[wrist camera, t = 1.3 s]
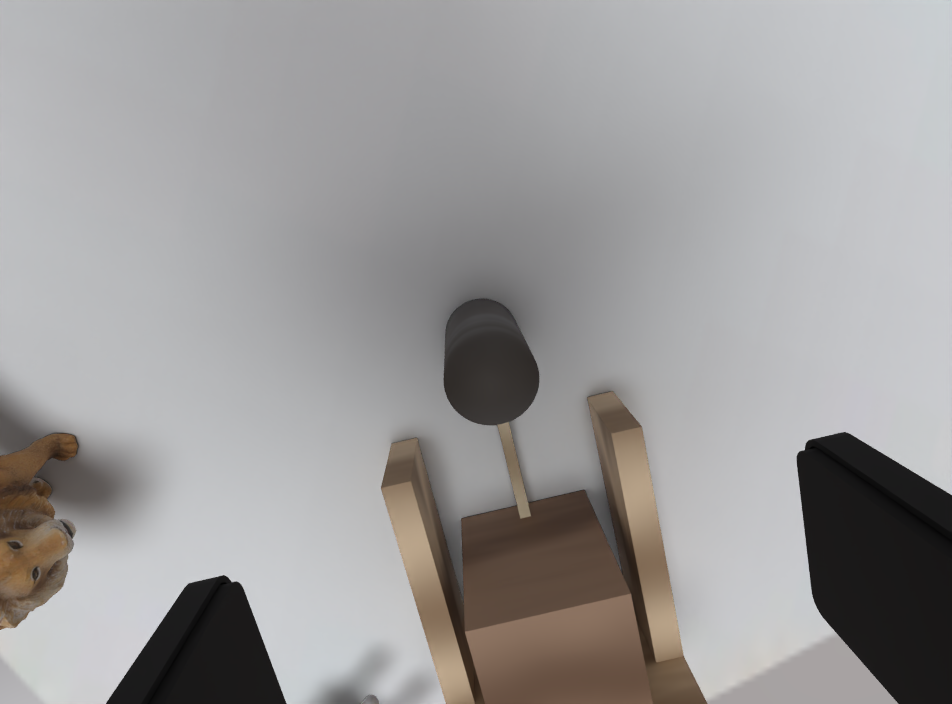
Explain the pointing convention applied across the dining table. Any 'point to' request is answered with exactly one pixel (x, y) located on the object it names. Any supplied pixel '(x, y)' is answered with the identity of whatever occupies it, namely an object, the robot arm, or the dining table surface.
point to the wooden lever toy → (535, 550)
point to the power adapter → (370, 700)
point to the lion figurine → (31, 530)
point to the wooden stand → (636, 542)
